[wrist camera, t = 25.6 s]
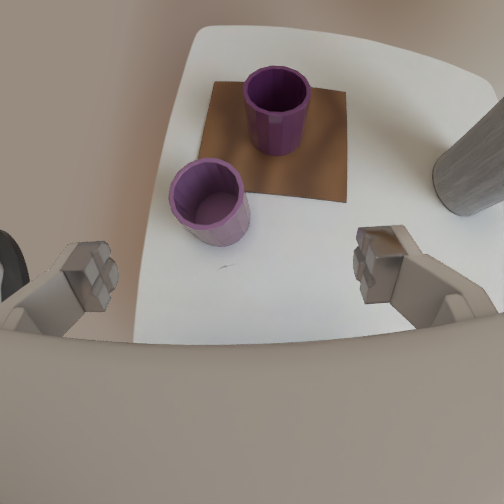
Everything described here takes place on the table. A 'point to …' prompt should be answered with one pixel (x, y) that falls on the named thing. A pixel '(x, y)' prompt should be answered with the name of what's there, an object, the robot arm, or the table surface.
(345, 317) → the table surface
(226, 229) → the mauve cup
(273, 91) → the plum cup
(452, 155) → the vase
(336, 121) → the placemat
